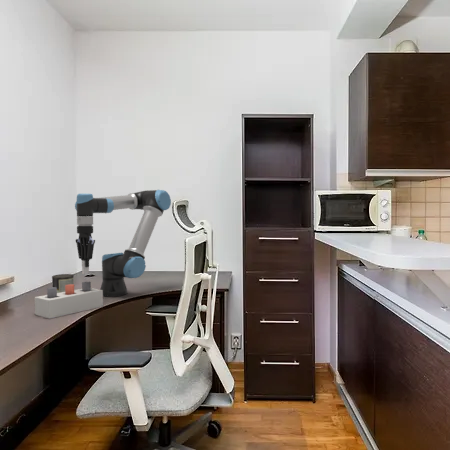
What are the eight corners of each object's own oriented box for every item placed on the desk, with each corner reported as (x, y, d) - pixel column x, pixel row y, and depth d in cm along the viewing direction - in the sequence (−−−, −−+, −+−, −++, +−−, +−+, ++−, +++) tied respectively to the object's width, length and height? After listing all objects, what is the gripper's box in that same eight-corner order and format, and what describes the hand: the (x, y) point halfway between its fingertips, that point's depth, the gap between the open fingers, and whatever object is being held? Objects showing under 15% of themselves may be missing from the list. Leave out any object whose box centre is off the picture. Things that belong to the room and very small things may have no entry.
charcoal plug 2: (87, 295, 204) (87, 281, 204) (92, 296, 202) (92, 282, 202) (80, 296, 201) (80, 282, 201) (85, 297, 199) (85, 283, 199)
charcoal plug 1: (53, 302, 190) (53, 286, 190) (58, 303, 188) (58, 287, 187) (45, 303, 187) (45, 288, 187) (50, 304, 184) (50, 289, 184)
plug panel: (88, 303, 209) (87, 287, 209) (102, 306, 202) (102, 290, 202) (35, 314, 187) (34, 297, 187) (49, 318, 180) (48, 300, 180)
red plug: (71, 298, 197) (71, 284, 197) (76, 299, 195) (76, 284, 195) (63, 300, 194) (63, 285, 194) (68, 301, 192) (68, 286, 191)
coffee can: (48, 305, 205) (48, 277, 205) (57, 300, 216) (57, 274, 215) (69, 305, 205) (68, 277, 205) (77, 300, 215) (76, 273, 215)
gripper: (70, 225, 201) (71, 273, 202) (86, 225, 193) (86, 275, 194) (83, 224, 207) (84, 271, 208) (99, 225, 199) (100, 273, 200)
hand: (85, 273), depth 201 cm, fingers closed
